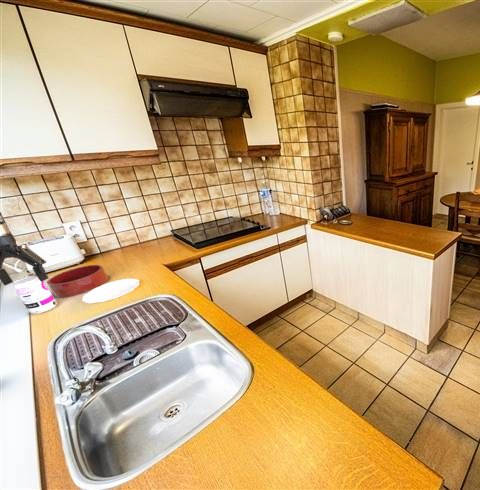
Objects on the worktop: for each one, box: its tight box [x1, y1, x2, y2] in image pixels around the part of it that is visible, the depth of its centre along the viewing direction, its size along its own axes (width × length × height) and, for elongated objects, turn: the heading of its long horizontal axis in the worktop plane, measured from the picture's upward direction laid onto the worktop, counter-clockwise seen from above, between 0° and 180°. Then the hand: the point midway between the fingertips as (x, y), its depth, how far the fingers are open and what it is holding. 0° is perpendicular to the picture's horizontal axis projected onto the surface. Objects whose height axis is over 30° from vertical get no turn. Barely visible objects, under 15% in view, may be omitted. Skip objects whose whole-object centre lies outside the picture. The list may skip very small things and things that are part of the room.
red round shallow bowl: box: [46, 264, 109, 298], centre depth 135 cm, size 20×20×7 cm
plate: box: [81, 278, 140, 304], centre depth 128 cm, size 21×21×2 cm
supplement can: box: [12, 275, 58, 314], centre depth 116 cm, size 8×8×15 cm
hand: (27, 281), depth 113 cm, fingers open, 13 cm apart
